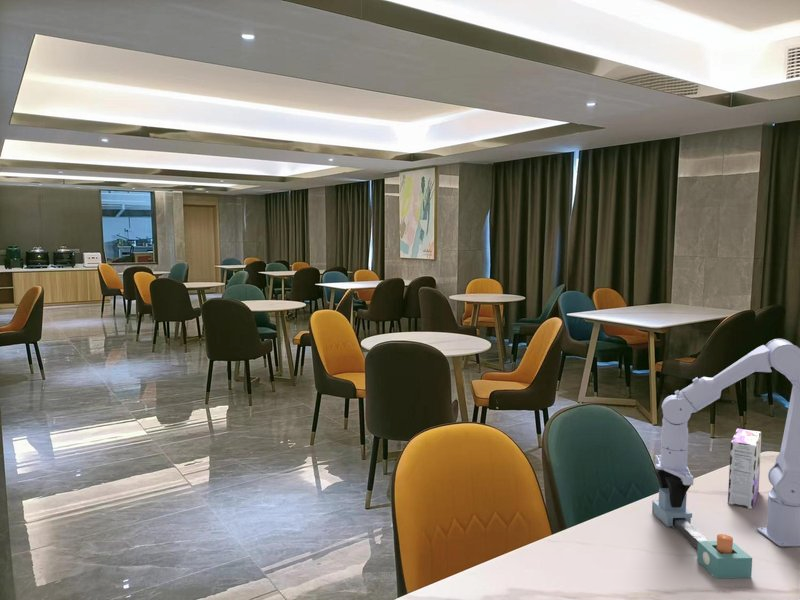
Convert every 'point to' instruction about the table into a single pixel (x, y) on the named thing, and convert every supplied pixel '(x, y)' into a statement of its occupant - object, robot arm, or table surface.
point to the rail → (686, 530)
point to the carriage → (670, 508)
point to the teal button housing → (724, 561)
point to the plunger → (724, 544)
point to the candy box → (744, 468)
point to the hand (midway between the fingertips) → (672, 503)
